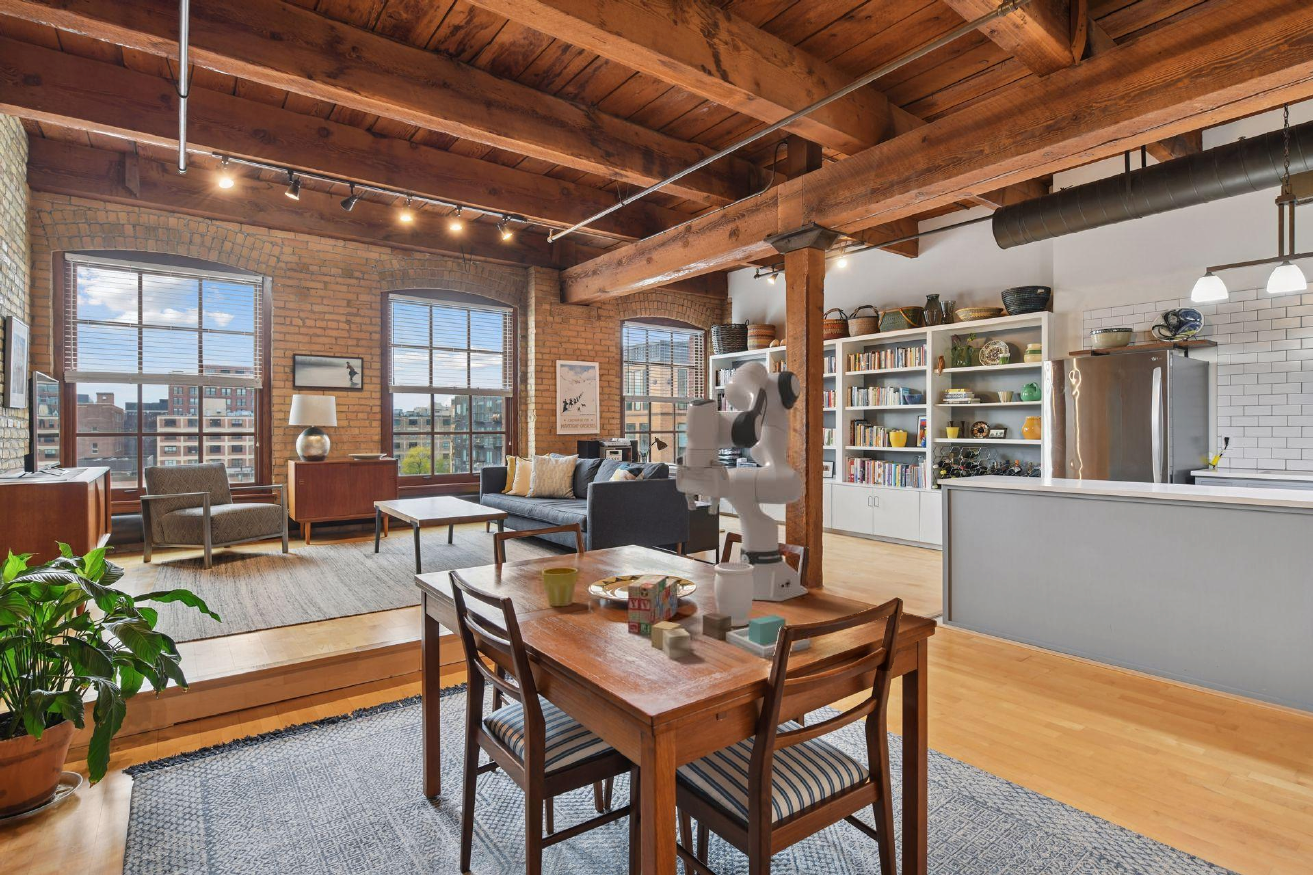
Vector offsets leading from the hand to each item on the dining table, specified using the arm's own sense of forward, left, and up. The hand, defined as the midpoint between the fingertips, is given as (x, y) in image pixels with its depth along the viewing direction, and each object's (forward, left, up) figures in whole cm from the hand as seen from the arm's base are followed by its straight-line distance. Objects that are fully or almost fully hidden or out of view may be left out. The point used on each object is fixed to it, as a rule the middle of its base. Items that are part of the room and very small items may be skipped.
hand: (702, 511), depth 180 cm
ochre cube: (+19, +12, -29) cm, 37 cm away
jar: (-6, +6, -29) cm, 30 cm away
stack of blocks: (+12, -6, -30) cm, 32 cm away
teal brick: (-2, +24, -28) cm, 37 cm away
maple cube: (+20, +18, -29) cm, 40 cm away
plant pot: (+26, -35, -29) cm, 53 cm away
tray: (-2, +24, -29) cm, 38 cm away
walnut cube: (+4, +12, -29) cm, 32 cm away
